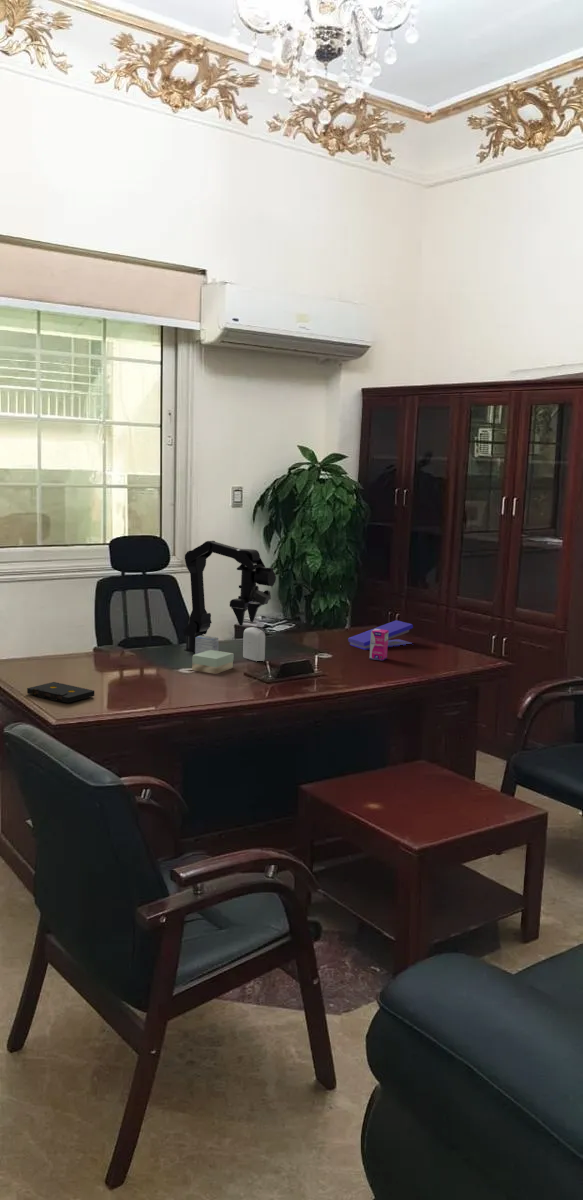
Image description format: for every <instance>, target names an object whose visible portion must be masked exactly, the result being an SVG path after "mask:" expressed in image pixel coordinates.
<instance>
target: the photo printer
mask: <svg viewBox="0 0 583 1200" xmlns="http://www.w3.org/2000/svg"><path fill="white" fill-rule="evenodd" d="M242 635H243V639H242V641H243V642H242V643H243V644H242V645H243V646H242V647H243V648H242V657H243V658H244V659H247V660H250V661H253V662H257V661H263V662H264V661H265V659H266V633H265V632H264V631H263V630H262V629H260V628H257V627H253V626H252V627H246V628H245V629H244V630H243V634H242Z"/></svg>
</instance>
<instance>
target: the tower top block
mask: <svg viewBox="0 0 583 1200" xmlns="http://www.w3.org/2000/svg"><path fill="white" fill-rule="evenodd" d="M234 658H235V657H234V653H233V652H226V651H220V650H218V651H215V650H208V651H205V652H202V653H198V654H195V653H194V654H193V655H192V660H191V662H192V664H199V665H206V666H212V667H218V666H221V665H224V664H227V663H230V662H234Z"/></svg>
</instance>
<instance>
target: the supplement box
mask: <svg viewBox="0 0 583 1200" xmlns="http://www.w3.org/2000/svg"><path fill="white" fill-rule="evenodd" d="M373 629H374V628H373ZM388 633H389V631H388V630H382V629H374V630H372V631H371V642H370V649H369V660H376V661H381V662H383V661H385V660H387V659H388V648H389V647H388Z"/></svg>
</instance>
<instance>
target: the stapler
mask: <svg viewBox="0 0 583 1200" xmlns="http://www.w3.org/2000/svg"><path fill="white" fill-rule="evenodd" d="M374 629H382V630H388V631H389V633H388V648H393V646H394V647H401V646H400V645H403V646H407V645H406V644H412V643H413V642H412V641H407V640H403V639H399V638H397V637H400V636H403V635H405V634H407V633H410V630H412V629H414V625H413V624H412V623H409V622H404V621H401V620H396V619H395V620H393V621H391V622H388V623H385V624H382V625H379V626H377V627H375V628H372V629H369V630H366V631H364V632H361V633H359V634H355V635H352V636H350V637H348V638H347V641H348V643H349V646H352V647H355V648H358V649H361V650H364V651H367V650H369V651H370V642H371V631H372V630H374ZM393 638H397V639H393ZM412 645H413V644H412Z"/></svg>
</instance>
